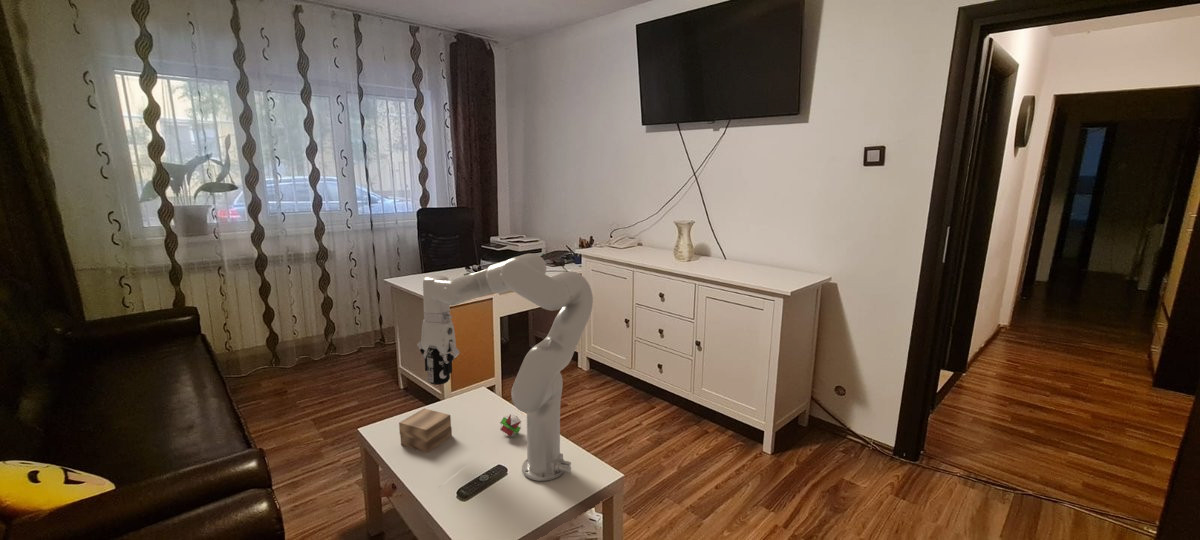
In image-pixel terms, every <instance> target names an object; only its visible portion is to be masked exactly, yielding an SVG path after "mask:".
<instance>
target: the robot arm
mask: <svg viewBox="0 0 1200 540" xmlns="http://www.w3.org/2000/svg"><path fill="white" fill-rule="evenodd" d="M546 273H547V264H546V261H545V259H544V258H543V257H542V256H541V255H538V254H537V253H526V254H525V253H524V254H521V255H518V256H514V257H511V258H509V259H506V260H502V261H500V262H496V263H494V264H491V265H489V266H488V267H487V268H485V269H482V270H479V271H477V272H473V273H472V272H471V273H469V274H466V275H462V276H458V277H456V278H451V279H449V277H448V276H446V275H440V274H439V275H438V274H436V275H435V274H434V275H428V276H425V278H423V280H422V291H423V293H422V294H423V295H422V296H423V299H422V300H423V320H422V323H421V325H422V326H421V333H420V334H421V338H420V340H419V342H417V344H416V347H418V348H419V349H418V350H419V351H420V353H421V354H422V358H423V359H424V371H425V372H428V370H427V349H428V348H429V347H428V346H430V347H435V348H437V350H438V351H439V352H440V354H442V355H443V359H444V361H445V363H443V374H444V376H447V375H448V374H450V375H451V374H452V373H453V361H454V360H455V359H457V357H458V356H459V354H460V353H461V352H460V350H459V349H458V347H457V342H456V340H457V339H456V332H455V327H454V322H453V320H452V319H453V316H452V314H451V309H450V307H451V306H457V305H461V304H462V303H465V302H467V301H470V300H474V299H476V298H479V297H482V296H486V295H489V294H493V293H495V294H503V293H507V292H510V291H513V292H514V293H515V294H517V295H519V296H521V297H522V298H524V299H525V300H527V301H529V302H531V303H533V304H535V305H536V306H538V307H540V308H541V309H544V310H547V311H554V312H555V311H558V310H559V312H558V313H557V315H556V316H555V318H554V320H553V323H552V326H551V327H550V330H549V332H548V334H547V335H546V337H545V338H544V339H543V340H542V341H540V342H539V343H537V344H535V345H534V346H532V347H531V348H530V349H529V351H528V352H527V353H526V355H525V356H524V358H523V361H522V363H521V365H520V367H519V370H518V372H517V375H516V378H515V380H514V382H513V385H512V388H511V392H510V393H511V396H510V397H511V400H512V401H511V402H512V404H513V406H514V407H515V408H516V409H517V410H518V411H520V412H521V413H526V445H527V446H526V450H527V451H526V453H527V454H526V455H527V459H525V460H524V461H523V463H522V465H521V472H522V474H523V475H524V476H525V477H526V478H528V479H529V480H533V481H536V482H537V481H539V482H543V481H544V482H545V481H546V482H547V481H551V480H554V479H557V478H558V477H560V476H562V475H563V473H565V474H570V473H571V471H572V467H571V466H572V462H571V461H568V460H565V459H564V453H561V401H562V394H563V388H564V387H563V385H564V384H563V383H564V382H563V381H564V380H563V376H562V373H561V371H563V370H564V369H565V368H566V367H567V366H568V365H569V364H570V362H571V360H572V358H573V356H574V353H575V351H576V349H577V347H578V344H579V342H580V340H581V338H582V335H583V332H584V330H585V329H586V326H587V324H588V322H589V319H590V317H591V314H592V310H593V303H594V297H593V291H592V288H591V286H590V284H589V282H588V281H587V278H585V277H584V276H583V275H582V274H581V273H579V272H576V271H563V272H560V273H558V274H555V275H553V276H549V275H547V274H546ZM447 354H448V356H449V358H448V357H447Z"/></svg>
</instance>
